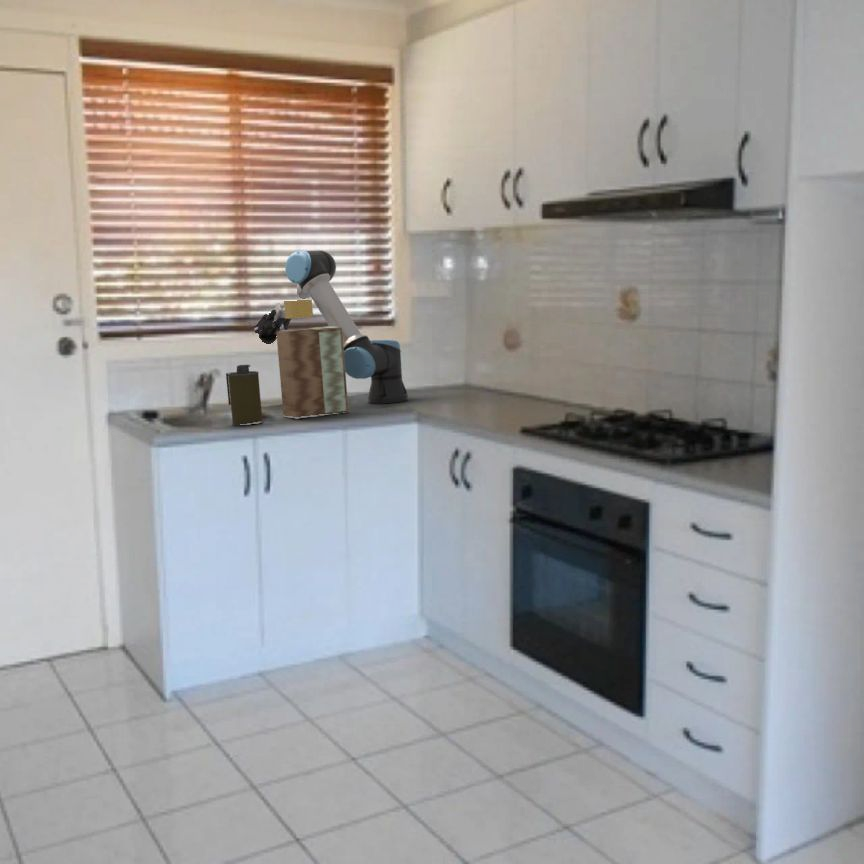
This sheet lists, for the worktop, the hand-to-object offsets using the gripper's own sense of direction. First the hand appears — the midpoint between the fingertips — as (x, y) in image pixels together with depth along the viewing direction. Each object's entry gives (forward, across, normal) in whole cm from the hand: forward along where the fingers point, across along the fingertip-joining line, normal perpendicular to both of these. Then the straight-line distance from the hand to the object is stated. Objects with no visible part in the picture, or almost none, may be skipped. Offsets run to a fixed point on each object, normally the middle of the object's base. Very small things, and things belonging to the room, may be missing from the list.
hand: (283, 306), depth 368 cm
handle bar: (+1, 0, -5) cm, 6 cm away
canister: (-3, +25, -43) cm, 50 cm away
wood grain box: (-2, 0, -43) cm, 43 cm away
